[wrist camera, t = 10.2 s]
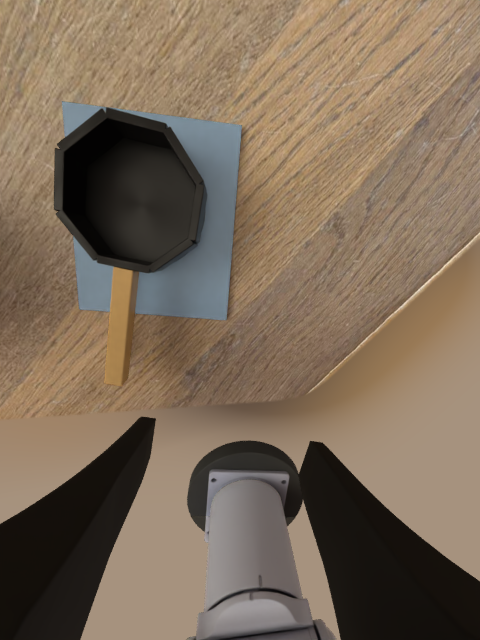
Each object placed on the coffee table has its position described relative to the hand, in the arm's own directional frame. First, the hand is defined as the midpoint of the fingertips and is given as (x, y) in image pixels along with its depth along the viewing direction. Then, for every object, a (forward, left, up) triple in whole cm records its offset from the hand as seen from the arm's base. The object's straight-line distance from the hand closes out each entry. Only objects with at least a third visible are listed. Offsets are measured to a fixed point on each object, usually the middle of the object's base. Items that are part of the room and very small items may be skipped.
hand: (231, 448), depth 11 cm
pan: (+7, +7, -9) cm, 13 cm away
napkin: (+10, +6, -9) cm, 15 cm away
